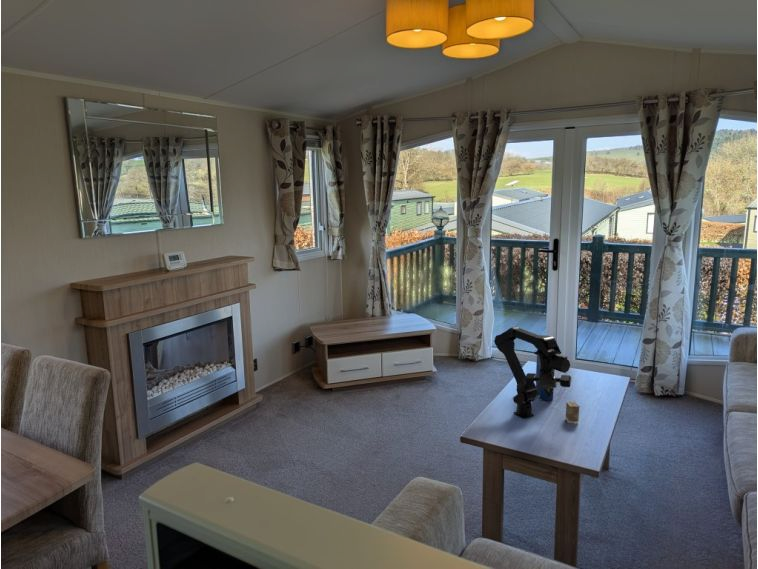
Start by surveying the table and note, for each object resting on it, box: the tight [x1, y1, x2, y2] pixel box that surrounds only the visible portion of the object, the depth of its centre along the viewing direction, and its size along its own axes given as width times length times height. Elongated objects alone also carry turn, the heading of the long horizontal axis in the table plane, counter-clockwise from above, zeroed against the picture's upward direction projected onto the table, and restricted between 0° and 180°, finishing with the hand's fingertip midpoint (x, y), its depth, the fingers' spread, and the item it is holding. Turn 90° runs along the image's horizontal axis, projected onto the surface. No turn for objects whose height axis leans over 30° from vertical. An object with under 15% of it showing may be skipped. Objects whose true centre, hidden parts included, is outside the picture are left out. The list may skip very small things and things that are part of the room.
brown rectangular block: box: [564, 401, 580, 425], centre depth 231 cm, size 4×5×8 cm
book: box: [535, 348, 556, 402], centre depth 261 cm, size 22×7×25 cm, turn 168°
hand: (549, 397), depth 231 cm, fingers closed
